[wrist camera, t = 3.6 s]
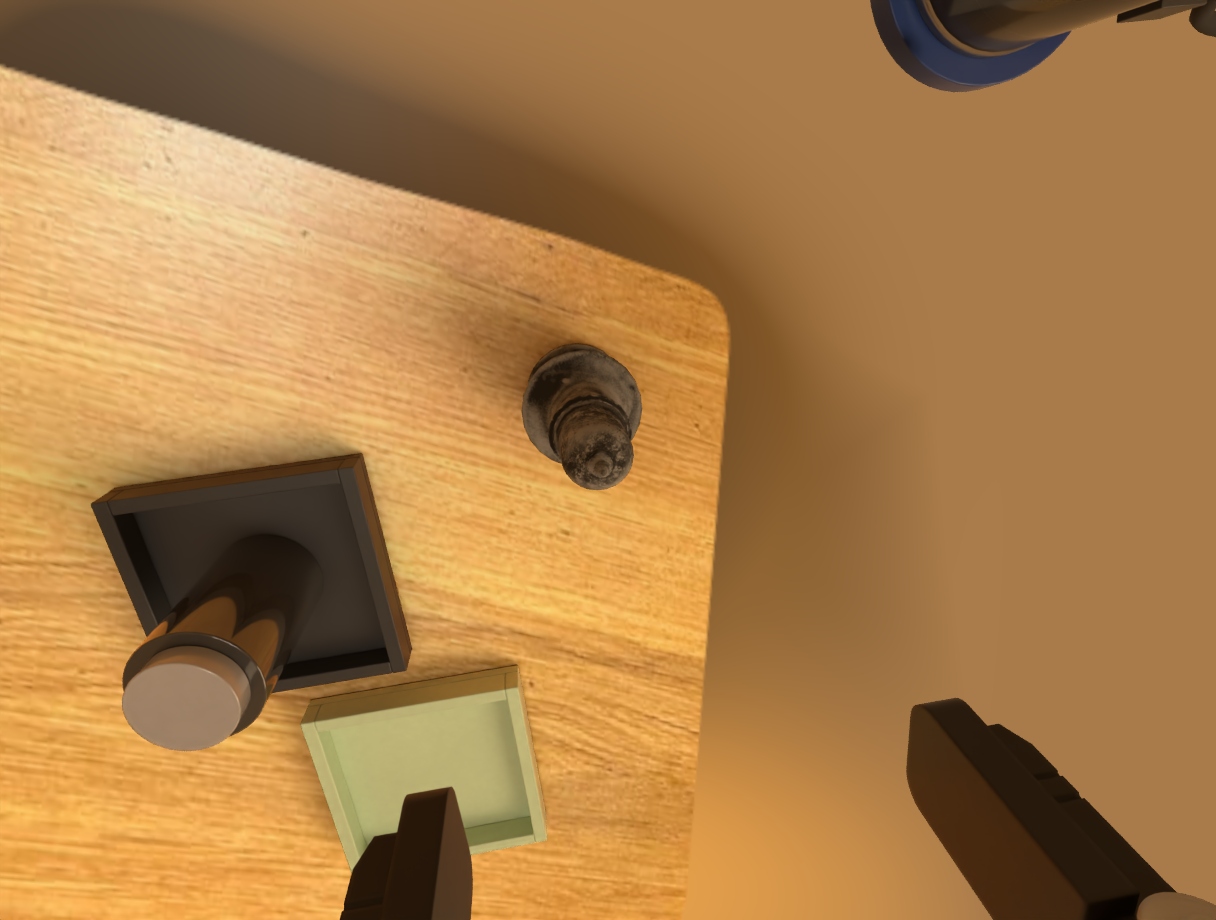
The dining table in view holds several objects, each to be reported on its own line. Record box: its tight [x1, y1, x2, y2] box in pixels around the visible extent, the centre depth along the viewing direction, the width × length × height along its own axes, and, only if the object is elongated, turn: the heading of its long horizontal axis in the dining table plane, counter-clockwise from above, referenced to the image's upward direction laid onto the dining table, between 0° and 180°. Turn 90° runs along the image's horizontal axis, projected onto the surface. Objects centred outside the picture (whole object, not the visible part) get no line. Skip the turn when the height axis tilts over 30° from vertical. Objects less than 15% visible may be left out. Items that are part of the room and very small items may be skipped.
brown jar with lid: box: [122, 534, 324, 751], centre depth 31 cm, size 6×6×10 cm
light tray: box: [300, 665, 547, 873], centre depth 41 cm, size 13×13×2 cm
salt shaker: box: [522, 344, 642, 490], centre depth 30 cm, size 6×6×12 cm
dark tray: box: [91, 454, 412, 693], centre depth 35 cm, size 13×13×2 cm
